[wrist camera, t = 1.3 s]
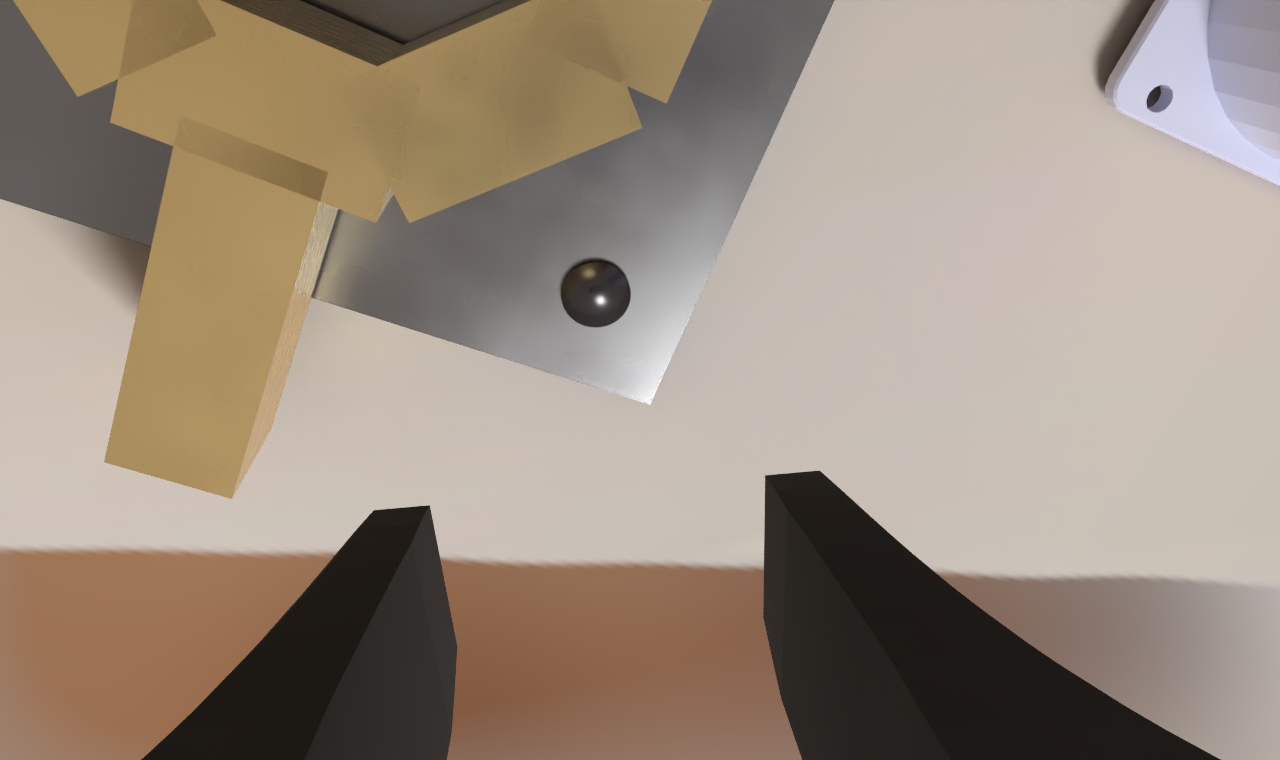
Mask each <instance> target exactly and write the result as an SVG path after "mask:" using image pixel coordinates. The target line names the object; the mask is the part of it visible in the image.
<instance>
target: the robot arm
mask: <svg viewBox="0 0 1280 760" xmlns="http://www.w3.org/2000/svg"><path fill="white" fill-rule="evenodd" d="M1157 86H1160V88H1161V95H1160V98H1159V100H1158V101H1157V102H1156V103H1155V105H1154V106H1152V107H1150V108H1147V103H1146V100H1147V97H1148V95H1149V93H1150V92H1151V91H1152V90H1153V89H1154V88H1155V87H1157ZM1105 98H1106V101H1107V103H1108V105H1109V106H1110V107H1111V108H1112V109H1114V110H1115V111H1117V112H1119V113H1122V114H1124V115H1126V116H1128V117H1130V118H1132V119H1135V120H1137V121H1139V122H1141V123H1143V124H1145V125H1148V126H1150V127H1152V128H1154V129H1156V130H1158V131H1160V132H1163V133H1165V134H1167V135H1169V136H1171V137H1173V138H1176V139H1178V140H1180V141H1182V142H1184V143H1186V144H1189V145H1191V146H1193V147H1195V148H1197V149H1199V150H1202V151H1204V152H1206V153H1208V154H1210V155H1212V156H1215V157H1217V158H1219V159H1221V160H1223V161H1225V162H1228V163H1230V164H1232V165H1234V166H1236V167H1238V168H1241V169H1243V170H1245V171H1247V172H1249V173H1251V174H1253V175H1256V176H1258V177H1260V178H1262V179H1264V180H1266V181H1269V182H1271V183H1273V184H1275V185H1277V186H1279V187H1280V0H1155V1H1154V3H1153V4H1152V6H1151V8H1150V9H1149V11H1148V13H1147V14H1146V16H1145V18H1144V19H1143V21H1142V23H1141V24H1140V26H1139V28H1138V29H1137V31H1136V33H1135V34H1134V36H1133V38H1132V39H1131V41H1130V43H1129V44H1128V46H1127V48H1126V49H1125V51H1124V53H1123V54H1122V56H1121V58H1120V59H1119V61H1118V63H1117V64H1116V66H1115V68H1114V70H1113V71H1112V73H1111V75H1110V76H1109V78H1108V81H1107V83H1106V86H1105ZM764 622H765V626H766V631H767V635H768V640H769V645H770V650H771V654H772V659H773V664H774V668H775V672H776V676H777V681H778V685H779V690H780V694H781V699H782V702H783V705H784V707H785V711H786V713H787V716H788V719H789V722H790V725H791V728H792V731H793V734H794V737H795V740H796V742H797V745H798V748H799V751H800V754H801V756H802V760H1220V759H1218V758H1216V757H1215V756H1213V755H1211V754H1209V753H1207V752H1205V751H1203V750H1202V749H1200V748H1198V747H1196V746H1194V745H1193V744H1191V743H1189V742H1187V741H1185V740H1183V739H1182V738H1180V737H1178V736H1176V735H1174V734H1172V733H1170V732H1169V731H1167V730H1165V729H1163V728H1162V727H1160V726H1158V725H1157V724H1155V723H1153V722H1151V721H1150V720H1148V719H1146V718H1144V717H1143V716H1141V715H1139V714H1137V713H1136V712H1134V711H1132V710H1131V709H1129V708H1127V707H1126V706H1124V705H1122V704H1121V703H1119V702H1118V701H1116V700H1114V699H1113V698H1111V697H1110V696H1108V695H1107V694H1105V693H1103V692H1102V691H1100V690H1098V689H1097V688H1095V687H1094V686H1092V685H1091V684H1089V683H1088V682H1086V681H1084V680H1083V679H1081V678H1080V677H1078V676H1077V675H1075V674H1073V673H1072V672H1070V671H1068V670H1067V669H1066V668H1064V667H1062V666H1061V665H1059V664H1058V663H1056V662H1055V661H1053V660H1052V659H1050V658H1049V657H1047V656H1046V655H1044V654H1042V653H1041V652H1040V651H1038V650H1037V649H1036V648H1034V647H1033V646H1031V645H1030V644H1028V643H1027V642H1025V641H1024V640H1023V639H1021V638H1020V637H1018V636H1017V635H1016V634H1014V633H1013V632H1012V631H1010V630H1009V629H1007V628H1006V627H1005V626H1003V625H1002V624H1001V623H999V622H998V621H997V620H995V619H994V618H993V617H991V616H990V615H988V614H987V613H986V612H984V611H983V610H982V609H980V608H979V607H978V606H976V605H975V604H974V603H972V602H971V601H970V600H969V599H967V598H966V597H965V596H963V595H962V594H961V593H960V592H958V591H957V590H956V589H955V588H953V587H952V586H951V585H950V584H948V583H947V582H946V581H945V580H943V579H942V578H941V577H940V576H939V575H937V574H936V573H935V572H934V571H933V570H931V569H930V568H929V567H928V566H927V565H925V564H924V563H923V562H922V561H921V560H919V559H918V558H917V557H916V556H915V555H913V554H912V553H911V552H910V551H909V550H908V549H906V548H905V547H904V546H903V545H902V544H901V543H900V542H898V541H897V540H896V539H895V538H894V537H893V536H892V535H890V534H889V533H888V532H887V531H886V530H885V529H884V528H883V527H882V526H880V525H879V524H878V523H877V522H876V521H875V520H874V519H873V518H871V517H870V516H869V515H868V514H867V513H866V512H865V511H864V510H863V509H862V508H860V507H859V506H858V505H857V504H856V503H855V502H854V501H853V500H852V499H851V498H849V497H848V496H847V495H846V494H845V493H844V492H843V491H842V490H841V489H840V488H838V487H837V486H836V485H835V484H834V483H833V482H832V481H831V480H829V479H828V478H827V477H826V476H825V475H824V474H823V473H822V472H820V471H811V472H800V473H789V474H777V475H766V476H765V544H764ZM456 657H457V643H456V638H455V633H454V628H453V623H452V618H451V613H450V607H449V602H448V597H447V592H446V587H445V582H444V577H443V572H442V566H441V561H440V556H439V551H438V546H437V541H436V536H435V531H434V525H433V520H432V515H431V510H430V505H429V506H418V507H407V508H396V509H385V510H374V511H373V512H372V513H371V514H370V515H369V516H368V517H367V519H366V520H365V521H364V522H363V523H362V524H361V525H360V527H359V528H358V529H357V530H356V531H355V532H354V533H353V535H352V536H351V537H350V538H349V539H348V540H347V542H346V543H345V544H344V545H343V546H342V548H341V549H340V550H339V551H338V552H337V554H336V555H335V556H334V557H333V558H332V560H331V561H330V562H329V563H328V564H327V566H326V567H325V568H324V569H323V570H322V571H321V573H320V574H319V575H318V576H317V577H316V579H315V580H314V581H313V582H312V583H311V584H310V586H309V587H308V588H307V589H306V590H305V592H304V593H303V594H302V595H301V596H300V597H299V598H298V600H297V601H296V602H295V603H294V604H293V605H292V606H291V607H290V609H289V610H288V611H287V612H286V613H285V614H284V615H283V616H282V618H281V619H280V620H279V621H278V622H277V623H276V624H275V625H274V627H273V628H272V629H271V630H270V631H269V632H268V634H267V635H266V636H265V637H264V638H263V639H262V640H261V641H260V643H259V644H258V645H257V646H256V647H255V648H254V649H253V650H252V651H251V652H250V653H249V654H248V656H246V658H245V659H244V660H243V661H242V662H241V663H240V664H239V665H238V666H237V667H236V668H235V669H234V670H233V671H232V672H231V673H230V674H229V675H228V676H227V677H226V678H225V679H224V680H223V681H222V682H221V683H220V684H219V685H218V686H217V688H215V689H214V691H212V692H211V694H210V695H209V696H208V697H207V698H206V699H205V700H204V701H203V702H202V703H201V704H200V705H199V706H198V707H197V708H196V709H195V710H194V711H193V712H192V713H191V714H190V715H189V716H188V717H187V718H186V719H185V720H184V721H183V722H182V723H180V724H179V725H178V726H177V727H176V728H175V729H174V730H173V731H172V732H171V733H170V734H169V735H168V736H167V737H166V738H165V739H163V740H162V741H161V742H160V743H159V744H158V745H157V746H156V747H155V748H154V749H153V750H152V751H151V752H149V753H148V754H147V755H146V756H145V757H144V758H143V759H141V760H447V754H448V748H449V743H450V737H451V731H452V718H453V705H454V691H455V674H456Z"/></svg>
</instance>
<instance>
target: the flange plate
mask: <svg viewBox="0 0 1280 760" xmlns="http://www.w3.org/2000/svg"><path fill="white" fill-rule="evenodd" d="M300 1H303V2H305V3H307V4H310V5H312V6H314V7H317V8H319V9H321V10H324V11H326V12H328V13H331V14H333V15H335V16H337V17H340V18H342V19H344V20H347V21H349V22H351V23H354V24H356V25H358V26H361V27H363V28H365V29H368V30H370V31H372V32H375V33H377V34H379V35H382V36H384V37H386V38H388V39H391V40H393V41H395V42H398V43H400V44H402V45H404V44H406V43H409V42H411V41H413V40H416V39H418V38H420V37H423V36H425V35H427V34H430V33H432V32H434V31H436V30H439V29H441V28H443V27H446V26H448V25H450V24H453V23H455V22H457V21H460V20H462V19H464V18H467V17H469V16H471V15H474V14H476V13H478V12H481V11H483V10H485V9H488V8H490V7H492V6H495V5H497V4H499V3H502V2H504V1H506V0H300ZM833 2H834V0H712V2H711V4H710V6H709V9H708V11H707V13H706V15H705V18H704V20H703V22H702V25H701V27H700V29H699V31H698V34H697V36H696V38H695V40H694V43H693V45H692V47H691V50H690V52H689V54H688V56H687V59H686V61H685V63H684V65H683V68H682V70H681V72H680V75H679V77H678V79H677V81H676V84H675V86H674V88H673V90H672V93H671V95H670V97H669V100H668V102H667V104H666V103H664V102H662V101H659V100H657V99H655V98H653V97H650V96H648V95H646V94H644V93H641V92H639V91H637V90H635V89H633V88H630V87H628V86H627V88H628V91H629V93H630V96H631V99H632V101H633V104H634V107H635V109H636V112H637V115H638V117H639V120H640V122H641V125H642V128H641V129H639V130H636V131H634V132H631V133H629V134H627V135H624V136H622V137H619V138H617V139H614V140H612V141H609V142H607V143H605V144H602V145H600V146H597V147H595V148H592V149H590V150H587V151H585V152H583V153H580V154H578V155H575V156H573V157H570V158H568V159H565V160H563V161H561V162H558V163H556V164H553V165H551V166H548V167H546V168H543V169H541V170H538V171H536V172H534V173H531V174H529V175H526V176H524V177H521V178H519V179H516V180H514V181H512V182H509V183H507V184H504V185H502V186H499V187H497V188H494V189H492V190H490V191H487V192H485V193H482V194H480V195H477V196H475V197H472V198H470V199H468V200H465V201H463V202H460V203H458V204H455V205H453V206H450V207H448V208H446V209H443V210H441V211H438V212H436V213H433V214H431V215H428V216H426V217H423V218H421V219H419V220H416V221H414V222H411V223H409V222H408V220H407V218H406V216H405V214H404V212H403V211H402V209H401V207H400V205H399V203H398V201H397V199H396V197H395V195H394V194H393V196H392V197H391V199H390V201H389V202H388V204H387V206H386V207H385V209H384V211H383V212H382V214H381V216H380V217H379V219H378V221H377V222H376V223H375V222H372V221H370V220H367V219H364V218H362V217H359V216H356V215H354V214H351V213H348V212H346V211H343V210H341V209H338V211H337V214H336V217H335V221H334V224H333V227H332V231H331V234H330V237H329V240H328V244H327V247H326V250H325V254H324V257H323V260H322V263H321V267H320V270H319V273H318V277H317V280H316V283H315V286H314V290H313V293H312V296H311V297H312V298H315V299H318V300H321V301H324V302H328V303H331V304H334V305H337V306H340V307H343V308H346V309H350V310H353V311H356V312H359V313H362V314H365V315H369V316H372V317H375V318H378V319H381V320H384V321H387V322H391V323H394V324H397V325H400V326H403V327H406V328H409V329H413V330H416V331H419V332H422V333H425V334H428V335H432V336H435V337H438V338H441V339H444V340H447V341H450V342H454V343H457V344H460V345H463V346H466V347H469V348H473V349H476V350H479V351H482V352H485V353H488V354H491V355H495V356H498V357H501V358H504V359H507V360H510V361H513V362H517V363H520V364H523V365H526V366H529V367H532V368H536V369H539V370H542V371H545V372H548V373H551V374H554V375H558V376H561V377H564V378H567V379H570V380H573V381H577V382H580V383H583V384H586V385H589V386H592V387H595V388H599V389H602V390H605V391H608V392H611V393H614V394H617V395H621V396H624V397H627V398H630V399H633V400H636V401H640V402H643V403H646V404H649V405H650V403H651V401H652V399H653V397H654V395H655V392H656V390H657V388H658V386H659V384H660V381H661V379H662V377H663V375H664V373H665V370H666V368H667V366H668V364H669V362H670V359H671V357H672V355H673V353H674V351H675V349H676V346H677V344H678V342H679V340H680V338H681V335H682V333H683V331H684V329H685V327H686V324H687V322H688V320H689V318H690V316H691V313H692V311H693V309H694V307H695V305H696V303H697V300H698V298H699V296H700V294H701V292H702V289H703V287H704V285H705V283H706V281H707V278H708V276H709V274H710V272H711V270H712V267H713V265H714V263H715V261H716V259H717V256H718V254H719V252H720V250H721V248H722V246H723V243H724V241H725V239H726V237H727V235H728V232H729V230H730V228H731V226H732V224H733V221H734V219H735V217H736V215H737V213H738V210H739V208H740V206H741V204H742V202H743V199H744V197H745V195H746V193H747V191H748V189H749V186H750V184H751V182H752V180H753V178H754V175H755V173H756V171H757V169H758V167H759V164H760V162H761V160H762V158H763V156H764V153H765V151H766V149H767V147H768V145H769V143H770V140H771V138H772V136H773V134H774V132H775V129H776V127H777V125H778V123H779V121H780V118H781V116H782V114H783V112H784V110H785V107H786V105H787V103H788V101H789V99H790V96H791V94H792V92H793V90H794V88H795V86H796V83H797V81H798V79H799V77H800V75H801V72H802V70H803V68H804V66H805V64H806V61H807V59H808V57H809V55H810V53H811V50H812V48H813V46H814V44H815V42H816V39H817V37H818V35H819V33H820V31H821V29H822V26H823V24H824V22H825V20H826V18H827V15H828V13H829V11H830V9H831V7H832V4H833ZM117 83H118V82H116V83H113V84H111V85H108V86H105V87H103V88H100V89H97V90H95V91H92V92H90V93H87V94H84V95H82V96H79V97H77V95H76V94H75V92H74V91H73V89H72V88H71V86H70V85H69V83H68V82H67V80H66V79H65V77H64V76H63V74H62V73H61V71H60V70H59V68H58V67H57V65H56V64H55V62H54V61H53V59H52V58H51V56H50V55H49V53H48V52H47V50H46V49H45V47H44V46H43V44H42V43H41V41H40V40H39V38H38V37H37V35H36V34H35V32H34V31H33V29H32V28H31V26H30V25H29V23H28V22H27V20H26V19H25V17H24V16H23V14H22V13H21V11H20V10H19V8H18V7H17V5H16V4H15V2H14V1H13V0H0V199H3V200H6V201H9V202H12V203H16V204H19V205H22V206H25V207H28V208H31V209H34V210H38V211H41V212H44V213H47V214H50V215H53V216H57V217H60V218H63V219H66V220H69V221H72V222H75V223H79V224H82V225H85V226H88V227H91V228H94V229H97V230H101V231H104V232H107V233H110V234H113V235H116V236H120V237H123V238H126V239H129V240H132V241H135V242H138V243H142V244H145V245H148V246H152V242H153V237H154V233H155V228H156V224H157V219H158V214H159V210H160V205H161V201H162V196H163V192H164V187H165V182H166V178H167V173H168V169H169V164H170V160H171V155H172V151H173V146H171V145H168V144H166V143H163V142H160V141H158V140H155V139H153V138H150V137H147V136H145V135H142V134H139V133H137V132H134V131H131V130H129V129H126V128H123V127H121V126H118V125H115V124H113V123H110V120H111V115H112V110H113V104H114V99H115V94H116V88H117Z"/></svg>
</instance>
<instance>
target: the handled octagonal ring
mask: <svg viewBox="0 0 1280 760" xmlns="http://www.w3.org/2000/svg"><path fill="white" fill-rule="evenodd" d="M13 1H14V2H15V4H16V5H17V7H18V8H19V10H20V11H21V13H22V14H23V16H24V17H25V19H26V20H27V22H28V23H29V25H30V26H31V28H32V29H33V31H34V32H35V34H36V35H37V37H38V38H39V40H40V41H41V43H42V44H43V46H44V47H45V49H46V50H47V52H48V53H49V55H50V56H51V58H52V59H53V61H54V62H55V64H56V65H57V67H58V68H59V70H60V71H61V73H62V74H63V76H64V77H65V79H66V80H67V82H68V83H69V85H70V86H71V88H72V89H73V91H74V92H75V94H76V95H77V97H79V96H82V95H84V94H87V93H90V92H92V91H95V90H97V89H100V88H103V87H105V86H108V85H111V84H113V83H116V82H118V83H117V88H116V94H115V99H114V104H113V110H112V115H111V120H110V123H113V124H115V125H118V126H121V127H123V128H126V129H129V130H131V131H134V132H137V133H139V134H142V135H145V136H147V137H150V138H153V139H155V140H158V141H160V142H163V143H166V144H168V145H171V146H173V151H172V155H171V160H170V164H169V169H168V173H167V178H166V182H165V187H164V192H163V196H162V201H161V205H160V210H159V214H158V219H157V224H156V228H155V233H154V237H153V242H152V246H151V251H150V255H149V260H148V265H147V269H146V274H145V278H144V283H143V287H142V292H141V297H140V301H139V306H138V310H137V315H136V319H135V324H134V329H133V333H132V338H131V342H130V347H129V351H128V356H127V360H126V365H125V370H124V374H123V379H122V383H121V388H120V392H119V397H118V402H117V406H116V411H115V415H114V420H113V424H112V429H111V433H110V438H109V443H108V447H107V452H106V456H105V461H104V462H106V463H109V464H113V465H116V466H120V467H123V468H127V469H130V470H133V471H137V472H140V473H144V474H147V475H151V476H154V477H158V478H161V479H165V480H168V481H172V482H175V483H179V484H182V485H186V486H189V487H193V488H196V489H199V490H203V491H206V492H210V493H213V494H217V495H220V496H224V497H227V498H231V499H232V498H233V496H234V494H235V493H236V491H237V489H238V487H239V485H240V484H241V482H242V480H243V478H244V477H245V475H246V473H247V471H248V469H249V468H250V466H251V464H252V462H253V461H254V459H255V457H256V455H257V453H258V452H259V450H260V448H261V446H262V445H263V443H264V441H265V439H266V437H267V436H268V434H269V432H270V430H271V427H272V424H273V421H274V418H275V414H276V411H277V408H278V405H279V401H280V398H281V395H282V391H283V388H284V385H285V382H286V378H287V375H288V372H289V368H290V365H291V362H292V359H293V355H294V352H295V349H296V345H297V342H298V339H299V336H300V332H301V329H302V326H303V322H304V319H305V316H306V313H307V309H308V306H309V303H310V299H311V296H312V293H313V290H314V286H315V283H316V280H317V277H318V273H319V270H320V267H321V263H322V260H323V257H324V254H325V250H326V247H327V244H328V240H329V237H330V234H331V231H332V227H333V224H334V221H335V217H336V214H337V211H338V209H341V210H343V211H346V212H348V213H351V214H354V215H356V216H359V217H362V218H364V219H367V220H370V221H372V222H375V223H376V222H377V221H378V219H379V217H380V216H381V214H382V212H383V211H384V209H385V207H386V206H387V204H388V202H389V201H390V199H391V197H392V196H393V194H394V195H395V197H396V199H397V201H398V203H399V205H400V207H401V209H402V211H403V212H404V214H405V216H406V218H407V220H408V222H409V223H411V222H414V221H416V220H419V219H421V218H423V217H426V216H428V215H431V214H433V213H436V212H438V211H441V210H443V209H446V208H448V207H450V206H453V205H455V204H458V203H460V202H463V201H465V200H468V199H470V198H472V197H475V196H477V195H480V194H482V193H485V192H487V191H490V190H492V189H494V188H497V187H499V186H502V185H504V184H507V183H509V182H512V181H514V180H516V179H519V178H521V177H524V176H526V175H529V174H531V173H534V172H536V171H538V170H541V169H543V168H546V167H548V166H551V165H553V164H556V163H558V162H561V161H563V160H565V159H568V158H570V157H573V156H575V155H578V154H580V153H583V152H585V151H587V150H590V149H592V148H595V147H597V146H600V145H602V144H605V143H607V142H609V141H612V140H614V139H617V138H619V137H622V136H624V135H627V134H629V133H631V132H634V131H636V130H639V129H641V128H642V125H641V122H640V120H639V117H638V115H637V112H636V109H635V107H634V104H633V101H632V99H631V96H630V93H629V91H628V88H627V86H628V87H630V88H633V89H635V90H637V91H639V92H641V93H644V94H646V95H648V96H650V97H653V98H655V99H657V100H659V101H662V102H664V103H666V104H667V102H668V100H669V97H670V95H671V93H672V90H673V88H674V86H675V84H676V81H677V79H678V77H679V75H680V72H681V70H682V68H683V65H684V63H685V61H686V59H687V56H688V54H689V52H690V50H691V47H692V45H693V43H694V40H695V38H696V36H697V34H698V31H699V29H700V27H701V25H702V22H703V20H704V18H705V15H706V13H707V11H708V9H709V6H710V4H711V2H712V0H506V1H504V2H502V3H499V4H497V5H495V6H492V7H490V8H488V9H485V10H483V11H481V12H478V13H476V14H474V15H471V16H469V17H467V18H464V19H462V20H460V21H457V22H455V23H453V24H450V25H448V26H446V27H443V28H441V29H439V30H436V31H434V32H432V33H430V34H427V35H425V36H423V37H420V38H418V39H416V40H413V41H411V42H409V43H406V44H404V45H402V44H400V43H398V42H395V41H393V40H391V39H388V38H386V37H384V36H382V35H379V34H377V33H375V32H372V31H370V30H368V29H365V28H363V27H361V26H358V25H356V24H354V23H351V22H349V21H347V20H344V19H342V18H340V17H337V16H335V15H333V14H331V13H328V12H326V11H324V10H321V9H319V8H317V7H314V6H312V5H310V4H307V3H305V2H303V1H300V0H13Z"/></svg>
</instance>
